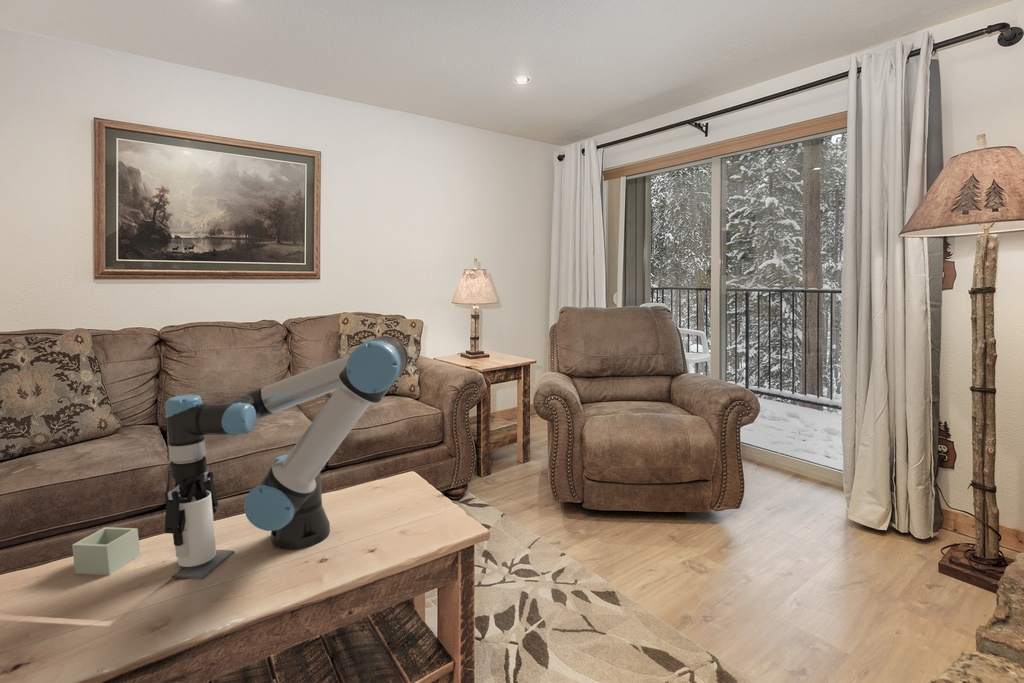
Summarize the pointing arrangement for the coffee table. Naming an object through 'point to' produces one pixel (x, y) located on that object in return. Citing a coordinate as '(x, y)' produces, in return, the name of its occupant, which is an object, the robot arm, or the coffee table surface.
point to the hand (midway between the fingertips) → (195, 546)
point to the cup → (198, 531)
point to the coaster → (204, 566)
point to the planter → (106, 551)
